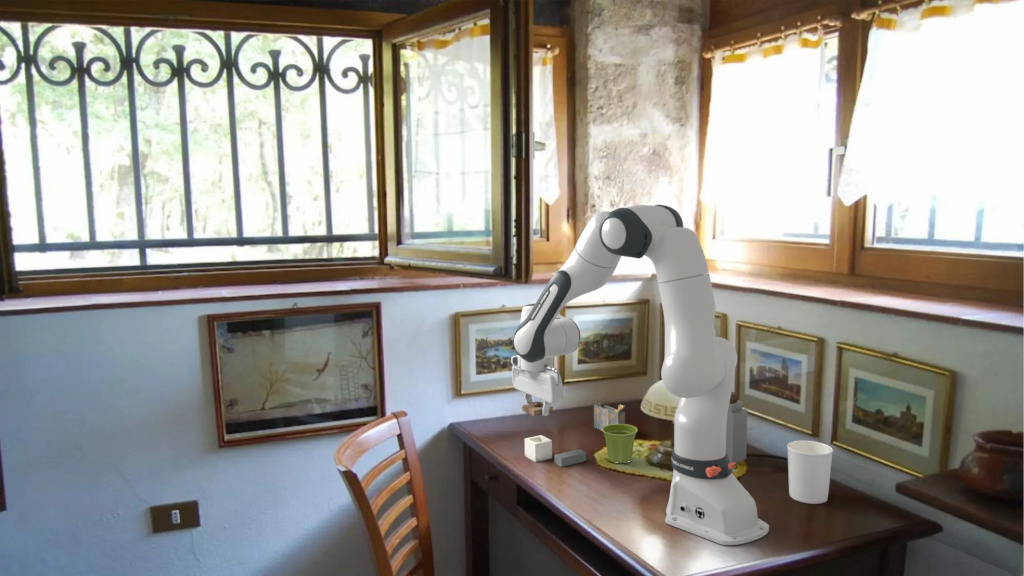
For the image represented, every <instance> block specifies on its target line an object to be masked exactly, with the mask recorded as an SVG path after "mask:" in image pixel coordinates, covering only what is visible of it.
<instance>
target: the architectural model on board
mask: <svg viewBox="0 0 1024 576" xmlns="http://www.w3.org/2000/svg"><path fill="white" fill-rule="evenodd" d="M625 406H626V404H624V405H623V404H622V403H619V404H618V405H617V408H614V407H611V406H609V405H606V404H605V405H603V407H602V403H597V404H596V403H595V404H594V405H593V428H594V429H596V428H597V429H596V430H598V429H599V431H602V428H603V427H604V426H606V425H611V424H626V412H625V411H622V410H623V409H625ZM602 432H603V431H602Z"/></svg>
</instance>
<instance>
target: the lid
mask: <svg viewBox="0 0 1024 576" xmlns="http://www.w3.org/2000/svg"><path fill="white" fill-rule="evenodd" d="M533 402H534V403H532V404H526V403H525V404H522V405H521V409H522V410H521V411H522V412H524V413H526V414H528V415H530V416H532V417H538V416H542V415H541V408H543V405H544V404H543V403H542V401H533ZM553 411H554V406H552V405H551V406H550V408H549V414H553Z"/></svg>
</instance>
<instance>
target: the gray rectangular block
mask: <svg viewBox="0 0 1024 576" xmlns="http://www.w3.org/2000/svg"><path fill="white" fill-rule="evenodd" d="M584 461H585V462H586V461H587V452H585V451H584V450H582V449H579V448H578V449H573V450H570V451H564V452H561V453H556V454H554V464H555V465H557V466H558V467H560V468H564V467H567V466H568V467H569V466H572V465H576V464H580V463H584Z"/></svg>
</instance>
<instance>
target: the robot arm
mask: <svg viewBox="0 0 1024 576" xmlns="http://www.w3.org/2000/svg"><path fill="white" fill-rule="evenodd" d="M644 256H645V257H647V258H649V260H650V261H651V262H652V263H653V266H654V269H655V275H656V280H657V281H656V282H657V286H658V291H659V296H660V300H661V301H660V302H661V306H662V312H663V318H664V319H663V321H664V360H663V362H662V367H661V371H660V373H661V374H660V375H661V381H662V383H663V386H664V388H666V390H667V391H668V392H669V393H671V395H673V396H675V397H678V398H679V401H678V405H677V407H676V411H675V412H674V416H673V417H674V418H673V421H674V422H673V424H674V426H673V429H674V430H673V436H674V437H673V439H674V440H673V448H672V450H671V457H670V458H671V467H672V469H673V470H672V477H671V484H670V491H669V498H668V502H667V506H666V508H665V513H666V515H665V519H664V520H665V521H664V522H665V523H666V524H667V525H669V526H673V527H675V528H677V529H680V530H683V531H685V532H687V533H691V534H692V535H696V536H698V537H701V538H704V539H707V540H709V541H711V542H713V543H717V544H719V545H723V546H736V545H742V544H748V543H750V542H753V541H756V540H758V539H761V538H762V537H765V536H766V535H767V534H768V533H769V531H770V525H769V524H768V523H767V522H765V521H764V520H762V519H760V518H759V517H758V507H757V504H756V501H755V499H754V497H753V496H752V495H751V494H750V493H749V491H748V490H746V488H745V487H744V486H743V485H742V483H741V482H739V480H738V479H737V477H736V476H735V475H734V474H733V468H736V467H737V466H736V464H737V463H736V462H733V463H730V461H729V457H728V454H727V453H726V425H727V413H728V407H729V402H730V397H731V392H733V391H732V390H733V384H734V382H733V381H734V376H735V370H736V367H737V365H738V353H737V350H736V348H735V347H734V345H733V344H732V343H731V342H730V341H729V340H727V339H726V338H724V337H720V336H715V316H716V313H717V305H716V302H715V301H716V300H715V296H714V291H713V285H712V282H711V281H712V280H711V276H710V271H709V267H708V263H707V259H706V256H705V253H704V249H703V247H702V245H701V242H700V240H699V237H698V235H697V234H696V232H695V231H694V230H692V229H690V228H687V227H684V222H683V219H682V216H681V215H680V213H679V212H678V211H677V210H676V209H675V208H673V207H671V206H669V205H664V204H655V205H652V204H651V205H645V204H635V205H631V206H626V207H618V208H616V209H614V210H611V211H608V210H607V211H606V210H605V211H599V212H597V213H595V214H594V215H593V216H592V217H591V219H589V221H588V223H587V224H586V226H585V227H584V229H583V230H582V232H581V234H580V236H579V238H578V240H577V241H576V244H575V247H574V248H573V250H572V252H571V254H570V255H569V257H568V258H567V260H565V262H564V264H562V266H561V267H560V268H559V270H558V271H556V272H555V274H553V276H552V277H551V278H550V279H549V280H548V282H547V284H546V285H545V287H544V288H543V290H542V292H541V293H540V295H539V297H538V298H537V300H536V302H535V303H528V304H526V305H524V306H523V307H522V310H521V312H520V314H521V315H520V323H519V325H518V326H517V328H516V330H515V332H514V335H513V340H512V343H513V348H514V351H515V352H516V354H517V355H514V356H511V359H510V363H511V365H512V367H511V380H512V381H511V382H512V386H513V389H515V390H518V391H520V392H522V396H523V398H524V401H525V405H526V404H532V403H534V402H535V401H533V399H532V396H533V397H535V398H537V399H538V400H541V402H542V403H543V404H544V405H543V408H541V415H540V416H543V417H549V415H550V413H549V408H550V406H552V405H553V404H559V403H562V401H563V400H564V389H563V381H562V376H561V375H560V373H559V372H558V369H557V368H556V367H554V358H555V357H559V356H564V355H569V354H572V353H574V352H576V351H577V349H578V348H579V346H580V343H581V331H580V328H579V326H578V324H577V323H576V322H575V321H574V320H573V319H572V318H570V317H569V318H568V317H565V316H563V315H561V314H560V312H561V310H562V309H563V307H565V306H566V305H567V304H568V303H570V302H571V301H573V300H574V299H577V298H579V297H581V296H584V295H586V294H588V293H591V292H593V291H597V290H599V289H601V288H602V287H604V286H605V285H606V284H607V282H609V280H610V279H611V278H612V276H613V275H614V273H615V270H616V269H617V267H618V264H619V262H620V260H621V257H625V258H627V257H628V258H634V259H638V260H639V259H642V258H643V257H644Z"/></svg>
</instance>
